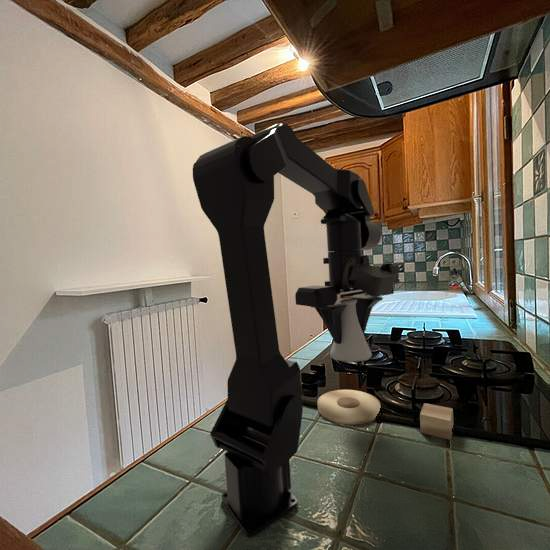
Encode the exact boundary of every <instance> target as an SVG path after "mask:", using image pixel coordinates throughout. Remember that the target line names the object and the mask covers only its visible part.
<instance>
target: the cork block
mask: <svg viewBox="0 0 550 550" xmlns="http://www.w3.org/2000/svg"><path fill="white" fill-rule="evenodd" d="M419 413H420V414H419V422H420V423H419V425H420V427H419V428H420V433H422V434H426V435H430V436H434V437H437V438H442V439H446V440H449V441H452V436H453V432H452V428H453V429H454V427H453V425H454V410H453V408H451V407H447V406H441V405H437V404H436V405H435V404H430V403H425V402H424V403H423V406H422V407H421V411H420V412H419Z"/></svg>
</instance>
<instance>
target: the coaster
mask: <svg viewBox="0 0 550 550" xmlns="http://www.w3.org/2000/svg"><path fill="white" fill-rule="evenodd" d="M380 408H381V403H380V400H379V399H377V398H376V397H375V396H374V395H372V394H370V393H367V392H365V391H364V392H363V391H361V390H356V389H355V390H354V389H337V390H331V391H328V392H325V393H323V394H322V395H320V396H319V397H318V399H317V411H318V413H319V414H320V416H322V417H323V418H324V419H326V420H328V421H330V422H334V423H336V424H342V425H351V426H353V425H363V424H367V423H371V422H373V421H375V420H376V419H375V418H376V416H377V414H378V413H379V411H380Z"/></svg>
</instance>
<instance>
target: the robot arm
mask: <svg viewBox="0 0 550 550" xmlns="http://www.w3.org/2000/svg"><path fill="white" fill-rule="evenodd" d="M277 174H280V175H281V176H283V177H284V178H286V179H288V180H290V181H291V182H293V183H294V184H296V185H297V186H299V187H301V189H302V188H303V190H305V191H307V192H309V193H310V194H312V195H313V196H314V201H315V202H314V203H315V205H316V206H317V207H318V208H319V209H321V210H322V211H323V213H324V214H325V215H323V216H322V218H321V219H320V224H322V225H325V226H326V241H327V257H323V264H324V265H327V264H328V278H329V280H326V281H324V285H308V286H301V287H297V290H296V291H295V298H294V299H295V305H296V306H298V305H299V306H302V307H303V306H304V307H309V308H314V309H315V310H316V312H317V314H318V315H319V316H320V318H321V319H322V321H323V323H324V325H325V326H326V329H327V330H328V332H329V335H330V336H331V338H332V340H333V342H335V343H337V344H341V339H342V319H341V314H342V312H343V311H344V309H345V308H346V306H347V305H344V304H341V301H340V299H342V298H346V297H347V299H357V303H356V313H357V317H358V322H359V324H360V327H361V329H362V332H363V334H364V335H365V333H366V329H367V326H368V322H369V319H370V315H371V312H372V310H373V308H374V307H375V305H377V304H379V302H381V301H383V299H384V297H383V296H388V295H393V294H394V292H395V291H394V285H398V284H399V283H400V279H399V276H400V273H399V268H398V265H397V264H395V263H392V262H387V263H385V262H384V263H383V264H382V265H381V266H374V265H371V264H370V258H369V256H368V255H363V251H371V250H372V249H375V248H376V247H377V246H378V245H379V243H380V242H381V239H382V231H381V228H380V227H379V225H378V224H377V223H376V222H373V221H371V216H375V210H374V207H373V203H372V201H371V198H370V194H369V191H368V187H367V185H366V183H365V181H364V179H363V178H362V177H361V175H359V174H358V173H356V172H354V171H352V170H350V169H342V168H341V169H340V168H335V167H333V166H332V165H331V164H330V163H329V162H327V160H325V159H324V158H323V157H321V156H320V155H319V154H317V153H316V152H315V151H314V150H313V149H311V148H310V147H309V146H308V145H306V144H305V143H304V142H303V141H302V140H301V139H300V138H298V137H297V136H296V133H295V131H294V130H293V128H292V127H291V126H290V125H289V124H287V123H282V122H281V123H276V124H274V125H272V126H269V127H267V128H264V129H262V130H260V131H257V132H255V133H254V134H253V136H249V135H244V136H241V137H238V138H236V139H234V140H232V141H229V142H226V144H223V145H220V146H218V147H216V148H214V149H211V150H209V151H207V152H204V153H202V154H201V155H199V157H198V158H197V159H196V161H195V162H194V163H193V165H192V180H193V181H192V182H193V183H194V187H195V191H196V195H197V198H198V201H199V204H200V207H201V210H202V212H203V213H204V215H205V216H206V217H207V219H208V220H209V222H210V223H211V224H212V226H213V228H215V230H216V232H217V235H218V239H219V240H218V241H219V246H220V253H221V254H220V255H221V259H222V260H221V261H222V269H223V274H224V275H223V276H224V281H225V288H226V294H227V296H226V297H227V303H228V309H229V315H230V323H231V328H232V329H231V330H232V336H233V343H234V350H235V361H234V363H233V366H232V368H231V371H230V372H229V375H228V378H227V383H226V384H227V399H226V401H225V403H224V405H223V407H222V410H221V411H220V413H219V415H218V416H217V418H216V421H215V423H214V425H213V427H212V428H211V431H210V435H209V436H210V437H211V440H212V442H213V445H214V446H215V448H218V449H222V450H223V451H226V452H225V453H224V464H225V465H224V466H225V479H226V480H225V481H226V482H225V483H226V491H225V492H223V493H222V494H221V501H222V503H223V504H224V505H225V508H227V510H228V511H229V513H230V515H231V516H232V517H233V518H234V520H235V521H236V522H237V525H239V527H240V529H241V530H242V531H243V533H244V534H245V536H246V537H253V536H254V535H256V534H257V533H259V532H260V531H262V530H264V529H265V528H267V527H268V526H269V525H271V524H272V523H274V522H275V521H277V520H278V519H281V517H283V516H285V515H286V514H287V513H289V512H290V511H293V509H295V508H297V507H298V505H299V504H298V503H299V502H298V498H297V497H296V496H295V495H294V494H293V493H292V492H291V491H289V490H291V489H292V482H291V481H292V480H291V476H292V475H291V464H290V462H291V461H290V459H291V458H293V457H294V455H296V454H297V452H298V450H299V442H300V434H301V427H302V426H301V425H302V419H303V412H304V411H303V401H302V400H303V399H302V396H304V395H305V392H304V390H303V388H302V382H301V368H300V365H299V363H298V361H294V360H290V359H289V360H288V359H285V357H284V356H283V355H282V353H281V351H280V345H279V336H278V330H277V322H276V321H277V320H276V314H275V307H274V298H273V289H272V283H271V281H272V280H271V276H270V275H271V274H270V267H269V259H268V251H267V243H266V242H267V241H266V236H265V224H266V222H267V220H268V216H269V214H270V211H271V209H272V206H273V204H274V201H275V175H277Z"/></svg>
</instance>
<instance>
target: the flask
mask: <svg viewBox="0 0 550 550" xmlns="http://www.w3.org/2000/svg"><path fill="white" fill-rule="evenodd" d="M340 301H341V304H344V305H347V306H346V308H345V309H344V311H343V312H342V314H341V319H342V339H341V344H337V343H335V342H334V341H333V342H332V345H331V350H330V352H329V356H330V357H331V358H332V359H333V360H334V361H341V362H350V363H354V362H360V361H362V362H363V361H368V360H369V359H371V357H372V356H373V354H372V351H371V348H370V346H369V344H368V342H367V340H366V337H365V333H364V334H363V332H362V329H361V327H360V324H359V322H358V317H357V313H356V303H357V299H348V298H340Z"/></svg>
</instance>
